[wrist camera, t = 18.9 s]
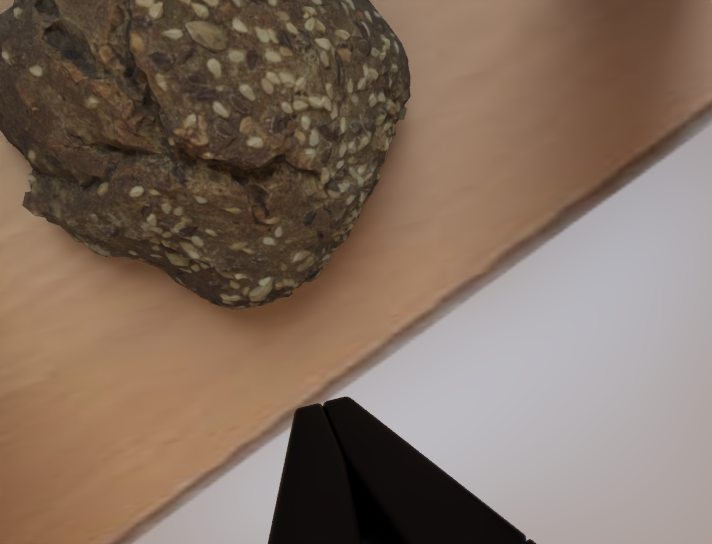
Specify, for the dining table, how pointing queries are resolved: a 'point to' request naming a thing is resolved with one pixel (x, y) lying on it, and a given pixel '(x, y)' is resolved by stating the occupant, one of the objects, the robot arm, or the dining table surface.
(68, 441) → the dining table surface
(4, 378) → the dining table surface
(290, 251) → the bread roll
